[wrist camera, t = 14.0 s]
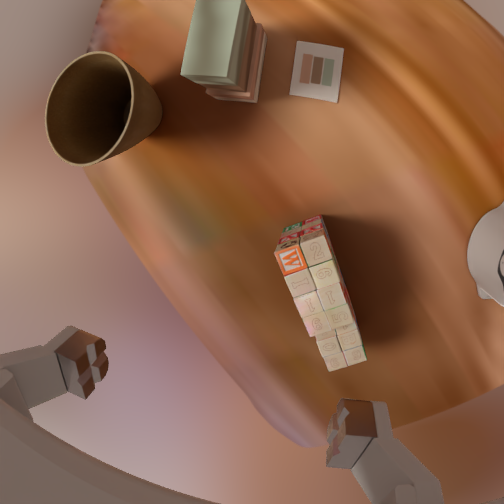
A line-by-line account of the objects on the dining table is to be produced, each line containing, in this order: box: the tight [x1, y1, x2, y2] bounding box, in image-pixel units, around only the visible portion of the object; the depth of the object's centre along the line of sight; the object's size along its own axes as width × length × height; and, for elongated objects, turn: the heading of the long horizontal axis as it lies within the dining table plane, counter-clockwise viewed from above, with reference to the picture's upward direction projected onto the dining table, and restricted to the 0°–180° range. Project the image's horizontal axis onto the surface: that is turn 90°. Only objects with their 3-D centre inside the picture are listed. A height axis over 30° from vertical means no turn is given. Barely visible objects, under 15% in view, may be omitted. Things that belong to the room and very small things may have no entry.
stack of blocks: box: [274, 215, 367, 371], centre depth 43 cm, size 21×6×12 cm, turn 24°
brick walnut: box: [198, 15, 257, 93], centre depth 33 cm, size 5×10×5 cm, turn 172°
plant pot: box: [45, 51, 163, 167], centre depth 38 cm, size 15×15×16 cm
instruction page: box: [289, 41, 344, 103], centre depth 39 cm, size 7×9×1 cm
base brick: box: [206, 23, 267, 103], centre depth 38 cm, size 6×11×6 cm, turn 172°
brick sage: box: [180, 0, 251, 86], centre depth 28 cm, size 5×10×5 cm, turn 172°
